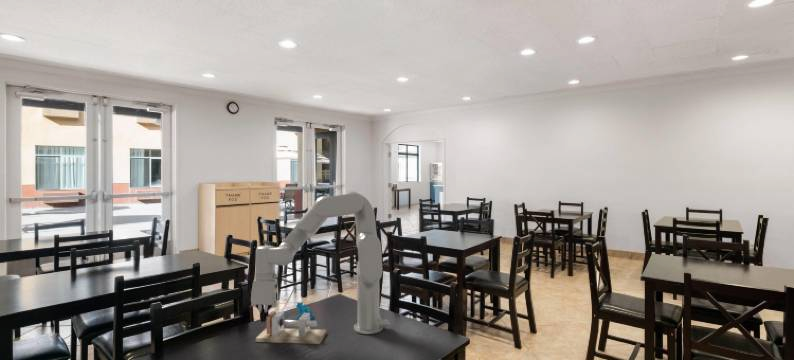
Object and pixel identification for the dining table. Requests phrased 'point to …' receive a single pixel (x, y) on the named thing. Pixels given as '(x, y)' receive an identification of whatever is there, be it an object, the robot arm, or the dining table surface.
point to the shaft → (285, 322)
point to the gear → (303, 310)
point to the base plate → (292, 336)
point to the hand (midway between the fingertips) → (264, 320)
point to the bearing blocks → (279, 329)
